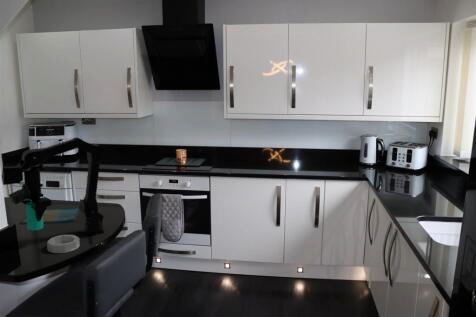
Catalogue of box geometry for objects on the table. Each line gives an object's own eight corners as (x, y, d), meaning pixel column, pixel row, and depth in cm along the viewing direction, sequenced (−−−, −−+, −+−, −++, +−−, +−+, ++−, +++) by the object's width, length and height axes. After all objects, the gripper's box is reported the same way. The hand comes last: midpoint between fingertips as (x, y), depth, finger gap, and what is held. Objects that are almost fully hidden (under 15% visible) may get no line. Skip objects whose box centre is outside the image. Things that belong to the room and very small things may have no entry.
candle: (28, 231, 156) (26, 202, 154) (25, 226, 161) (24, 198, 159) (45, 228, 160) (43, 200, 158) (42, 224, 165) (40, 196, 163)
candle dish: (70, 238, 168) (70, 232, 167) (85, 246, 160) (85, 239, 160) (41, 246, 159) (41, 239, 158) (56, 255, 151) (55, 248, 151)
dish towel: (75, 223, 188) (74, 218, 188) (20, 225, 182) (20, 220, 182) (80, 211, 204) (79, 207, 204) (30, 214, 199) (30, 209, 198)
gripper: (1, 180, 157) (4, 218, 160) (20, 189, 145) (23, 230, 148) (30, 176, 165) (32, 212, 168) (51, 184, 154) (53, 223, 156)
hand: (34, 219), depth 160 cm, fingers closed on candle, 7 cm apart
